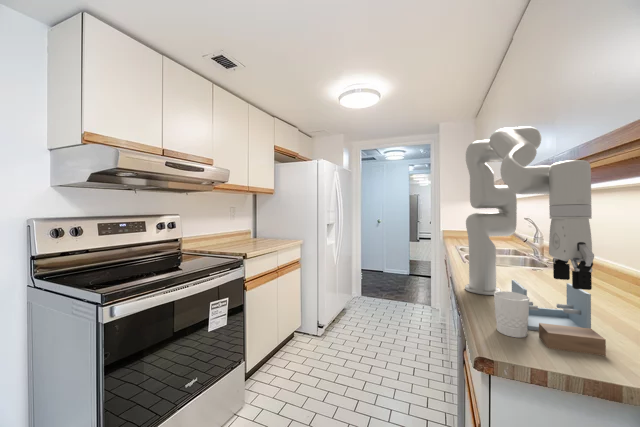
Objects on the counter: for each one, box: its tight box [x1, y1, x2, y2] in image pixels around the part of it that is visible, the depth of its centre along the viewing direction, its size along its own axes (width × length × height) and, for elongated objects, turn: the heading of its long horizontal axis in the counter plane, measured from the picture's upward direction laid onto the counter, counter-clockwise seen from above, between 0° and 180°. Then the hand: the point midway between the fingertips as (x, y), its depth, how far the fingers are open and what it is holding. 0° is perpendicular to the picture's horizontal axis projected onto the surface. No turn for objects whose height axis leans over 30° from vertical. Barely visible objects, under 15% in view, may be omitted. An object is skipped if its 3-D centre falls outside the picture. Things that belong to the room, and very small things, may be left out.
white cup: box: [493, 290, 530, 339], centre depth 75 cm, size 8×8×10 cm
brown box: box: [538, 323, 607, 357], centre depth 67 cm, size 6×10×4 cm, turn 69°
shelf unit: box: [511, 279, 592, 332], centre depth 79 cm, size 11×15×11 cm
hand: (571, 283), depth 66 cm, fingers open, 9 cm apart
